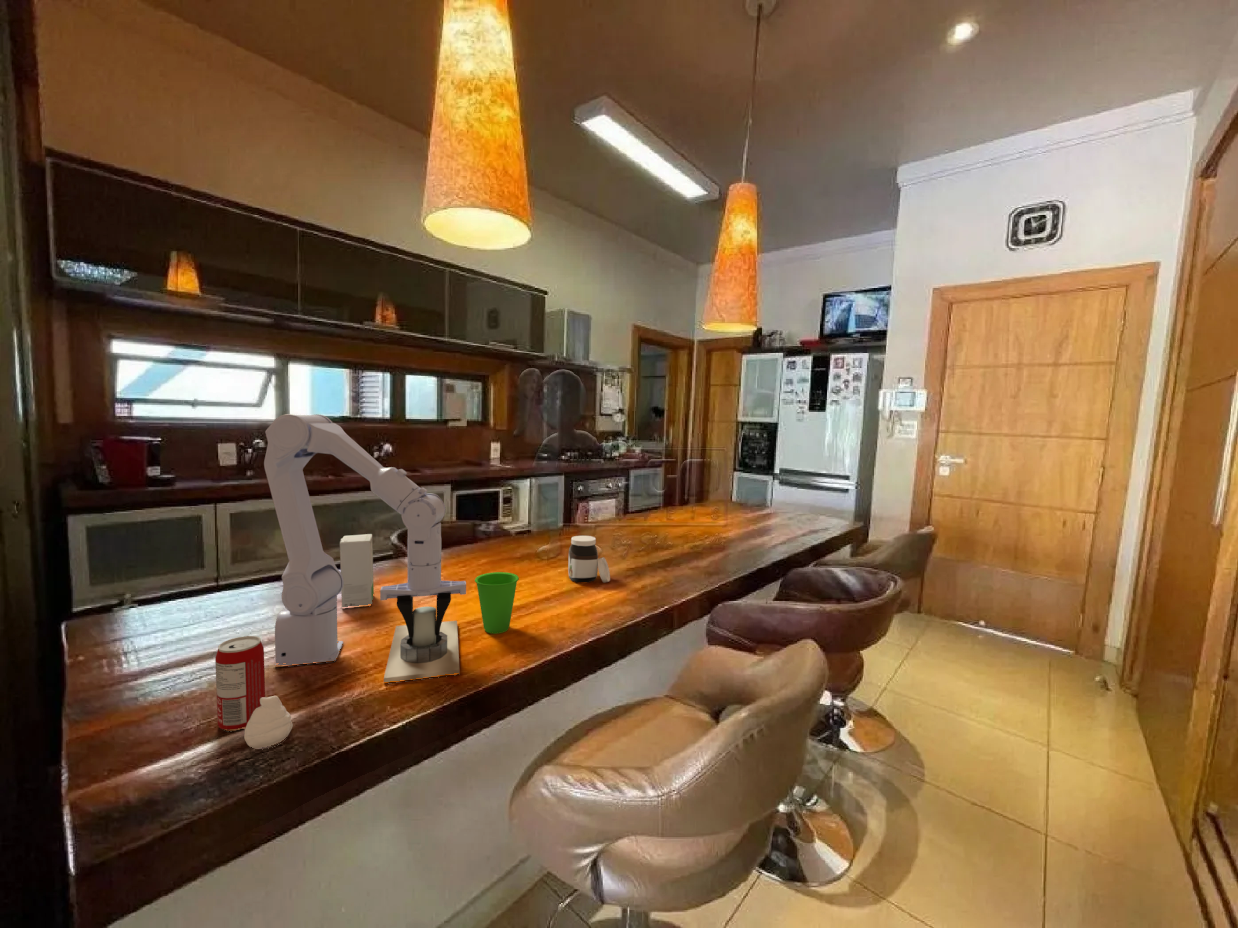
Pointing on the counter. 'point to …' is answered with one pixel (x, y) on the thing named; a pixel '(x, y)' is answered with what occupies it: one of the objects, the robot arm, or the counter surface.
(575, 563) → the spread jar
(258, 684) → the soda can
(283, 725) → the garlic bulb
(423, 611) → the gray peg
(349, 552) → the skincare box
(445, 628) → the peg holder
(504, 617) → the cup
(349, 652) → the counter surface
